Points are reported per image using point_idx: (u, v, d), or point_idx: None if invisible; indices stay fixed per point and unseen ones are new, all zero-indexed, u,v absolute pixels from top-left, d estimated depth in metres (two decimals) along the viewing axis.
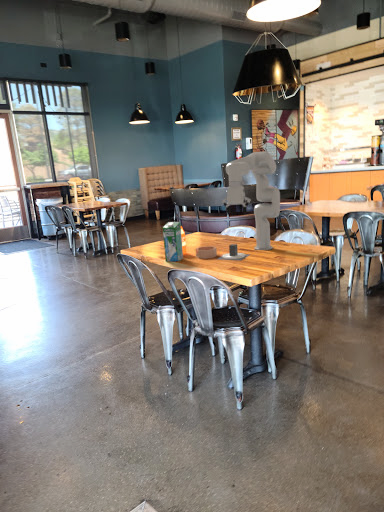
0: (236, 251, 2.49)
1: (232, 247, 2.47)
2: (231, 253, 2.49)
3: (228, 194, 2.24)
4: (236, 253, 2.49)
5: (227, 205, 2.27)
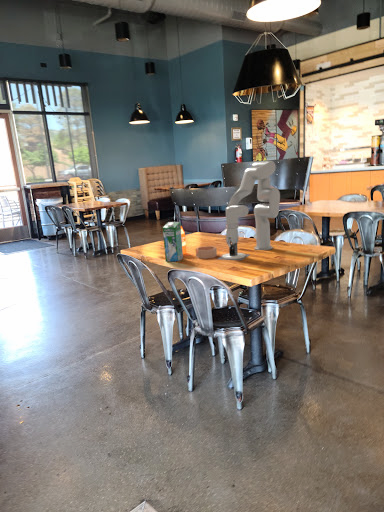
0: (236, 251, 2.49)
1: None
2: None
3: (233, 235, 2.43)
4: (236, 253, 2.49)
5: (233, 246, 2.46)
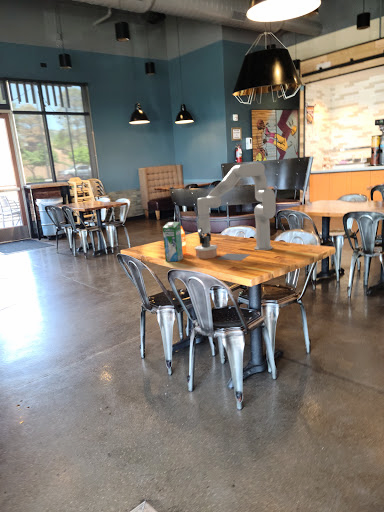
0: (208, 243, 2.55)
1: (204, 239, 2.54)
2: (203, 245, 2.55)
3: (204, 225, 2.49)
4: (208, 245, 2.55)
5: (203, 235, 2.50)
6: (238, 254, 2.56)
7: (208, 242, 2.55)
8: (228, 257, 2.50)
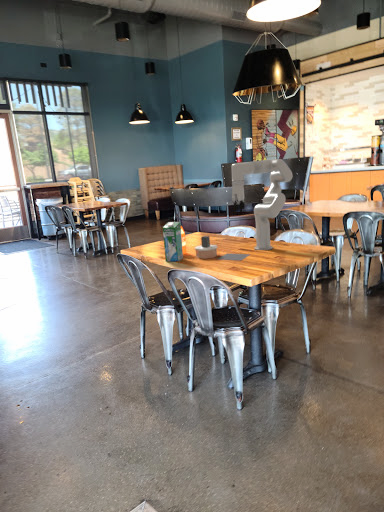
0: (208, 243, 2.55)
1: (204, 239, 2.54)
2: (203, 245, 2.55)
3: (239, 192, 2.43)
4: (208, 245, 2.55)
5: (237, 202, 2.44)
6: (238, 254, 2.56)
7: (208, 242, 2.55)
8: (228, 257, 2.50)
